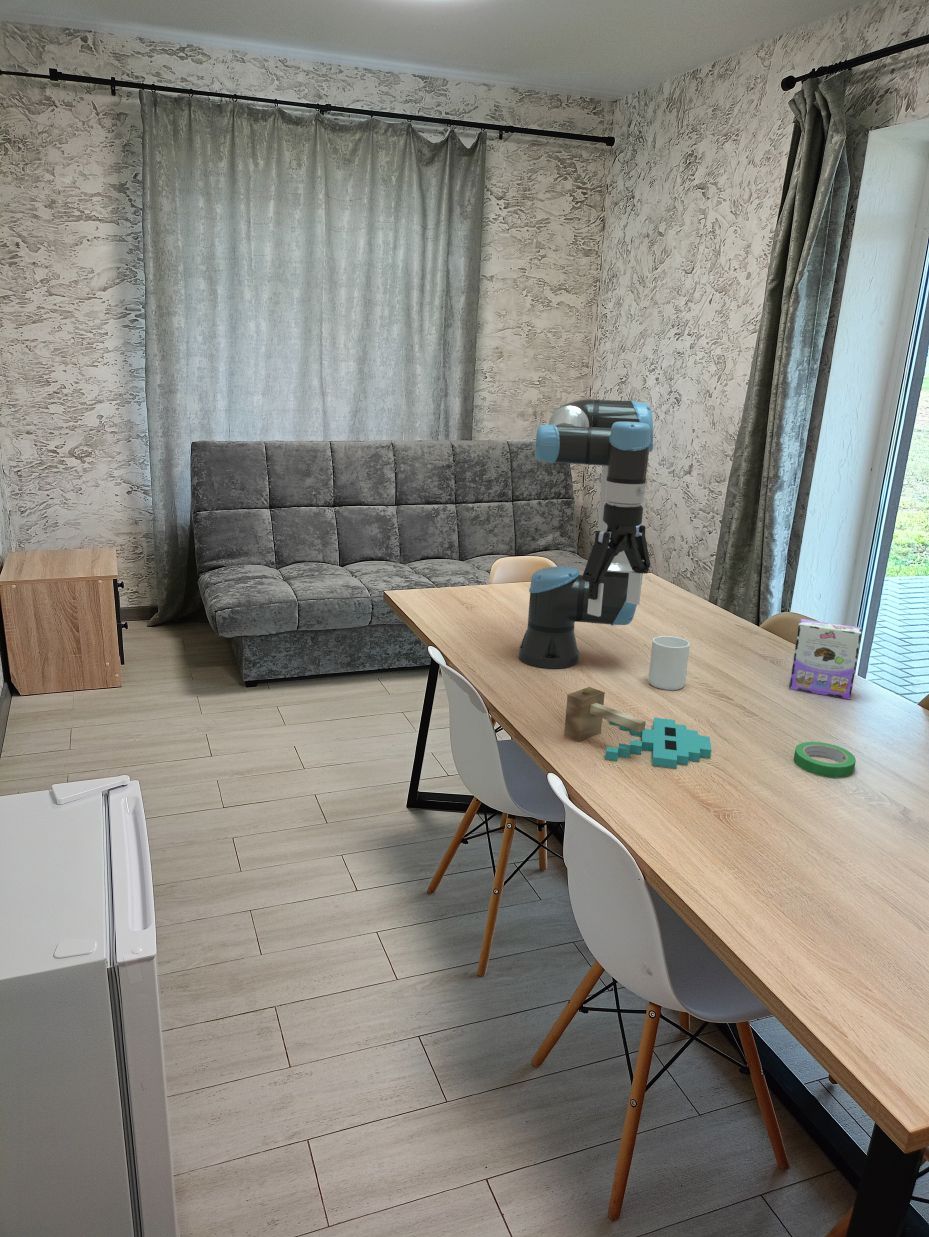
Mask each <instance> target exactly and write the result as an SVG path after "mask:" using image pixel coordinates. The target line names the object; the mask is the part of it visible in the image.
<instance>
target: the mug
mask: <svg viewBox="0 0 929 1237" xmlns="http://www.w3.org/2000/svg"><path fill="white" fill-rule="evenodd" d="M690 645H691V643H690V642H689V640H687V639H684V638H682V637H678V636H671V635H670V636H669V635H662V636H661V635H659V636H655V637H653V639H652V643H651V651H650V661H649V667H648V668H649V669H648V671H649V672H648V683H649V684H650V685H651V686H652V687H654V688H657V689H660V690H667V691H676V690H677V691H678V690H681V689H683V688H684V686H685V684H686V680H687V679H686V678H687V672H688V671H687V670H688V663H689V654H690V647H691V646H690Z"/></svg>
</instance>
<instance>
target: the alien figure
mask: <svg viewBox="0 0 929 1237" xmlns="http://www.w3.org/2000/svg"><path fill="white" fill-rule="evenodd" d="M609 725H614V726H620V730H622V731H629V732H630V736H635V737H641V741H640V740H633V739H631V740H630V744H629V743H628V744H626V743H618V747H615V746H606V750H605V760H606V761H611V762H617V761H618V757H619V758H620V757H621V758H628V759H630V754H634V755H642V751H648V752H652V761H651V764H652V765H651V766H652V767H653V766H654V767H661V768H667V769H668V768H669V769H677V765H685V766H688V765H689V761H690V762H691V761H692V762H700V758H706V759H711V757H712V746H711V745H712V744H711V737H710V736H708V735H701V734H700V735H699V731H698V730H693V729H688V727H687V725H685V724H678V723H676V719H671V718H669V719H668V718H661V717H653V721H652V729H649V728H645V730H644V731H641V732H637V731H635V730H632V729H629V728H627V727H624V726H622V725H619V724H616V723H614V722H611V721H609Z"/></svg>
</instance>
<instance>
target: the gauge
mask: <svg viewBox="0 0 929 1237" xmlns="http://www.w3.org/2000/svg"><path fill="white" fill-rule="evenodd" d="M605 692H606V691H605ZM605 692H604V691H602V690H599V689H596V688H594V687H591V686H587V687H584V688H582V689H579V690H575V691H573V692H570V693H568V694H567V698H566V707H565V708H566V710H565V722H564V732H563V736H564V737H566V738H569V739H571V740H574V741H576V742H578V743H581V742H583V741H585V740H588V739H590V738H593V737H596V736H597V735H600V734H602V726H603V725H602V724H603V719H604V720H606V721H609V722H610V721H611V722H614V723H616V724H619V725H618V726H621V725H622V726H624V727H627V728H629V729H632V730H635V731H637V732H641V731H644V730H645V729H646V722H647V721H645V720H643V719H641V718H638V717H635V716H633V715H630V714H628V713H626V712H625V713H624V712H622V711H620V710H619V711H618V710H616V709H614V708H611V707H608V706H607V705H605V704H604V703H605V696H606V695H605V694H606V693H605Z"/></svg>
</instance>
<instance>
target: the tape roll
mask: <svg viewBox="0 0 929 1237" xmlns="http://www.w3.org/2000/svg"><path fill="white" fill-rule="evenodd" d="M813 757H820V758H821V757H822V758H828V759H831V760H833V761H836V762H826V761H822V760H819V759H815V758H813ZM856 761H857V760H856V756H855V755H854V754H853V753H851V752H850V751H849V750H848V749H846V748H843V747H841V746H838V745H836V744H832V743H827V742H822V741H821V742H820V741H805V742H801V743H798V744H797V745H796V746H795V749H794V755H793V763H794V764H795V765H796V766H797V767H798V768H800V769H801V770H803V771H806V772H808V773H810V774H812V775H816V776H820V777H826V778H832V779H833V778H834V779H835V778H845V777H850V776H851V775H853V774H854V771H855V767H856V763H857V762H856Z"/></svg>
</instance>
